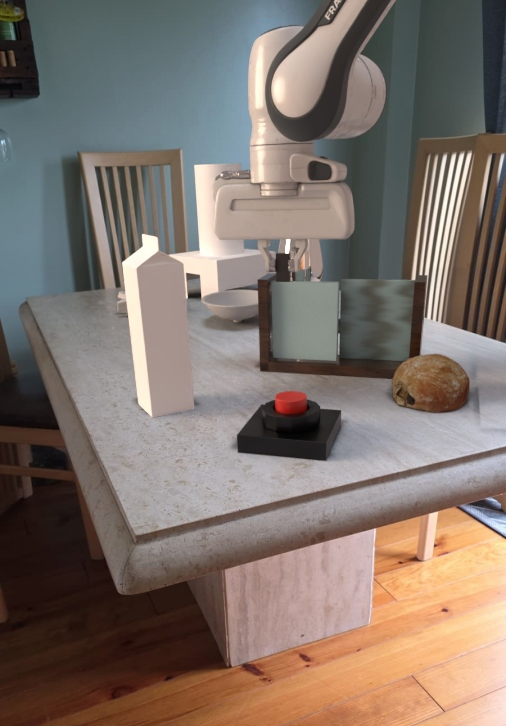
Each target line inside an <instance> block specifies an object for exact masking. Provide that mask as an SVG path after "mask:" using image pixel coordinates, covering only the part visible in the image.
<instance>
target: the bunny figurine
mask: <svg viewBox="0 0 506 726" xmlns="http://www.w3.org/2000/svg"><path fill="white" fill-rule="evenodd" d="M117 298H118V299H120V300H118V301H116V307H117V312H118V313H120V314H121V313H122V314H128V310H127V301H126V293H125V290H120V291H118V294H117Z"/></svg>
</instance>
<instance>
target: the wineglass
mask: <svg viewBox="0 0 506 726" xmlns="http://www.w3.org/2000/svg"><path fill="white" fill-rule="evenodd" d="M278 244H279V245H278V251H277V253H290V259H291V258H295V256H296V254H297V252H298V250H299V248H300V247H299V248H296V239H286V240H279V243H278ZM323 262H324V261H323V254H322V248H321V242H320V239H308V247H307V249H306V251H305V253H304V254H303V256H302V258H301V269H300V272H291V281H322V280H323V275H324V263H323Z"/></svg>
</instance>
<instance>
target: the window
mask: <svg viewBox="0 0 506 726" xmlns="http://www.w3.org/2000/svg"><path fill="white" fill-rule="evenodd" d="M289 259H290V253H278V252H276V281H272V330H273V358H288V359H308V360H327V361H337V359H338V355H339V332H338V321H339V319H340V281H322V280H321V281H291V272H289V271H288V268H289V265H288V260H289Z"/></svg>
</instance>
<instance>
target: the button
mask: <svg viewBox="0 0 506 726" xmlns="http://www.w3.org/2000/svg"><path fill="white" fill-rule="evenodd" d="M307 399H308V395H307V394H306V393H305V392H301V391H298V390H297V391H296V390H295V391H294V390H286V391H282V392H281V391H280V392H279V393H276V394H275V396H274V400H275V411H276V412H279V413H282V414H298V413H303V412H305V411H307Z"/></svg>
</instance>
